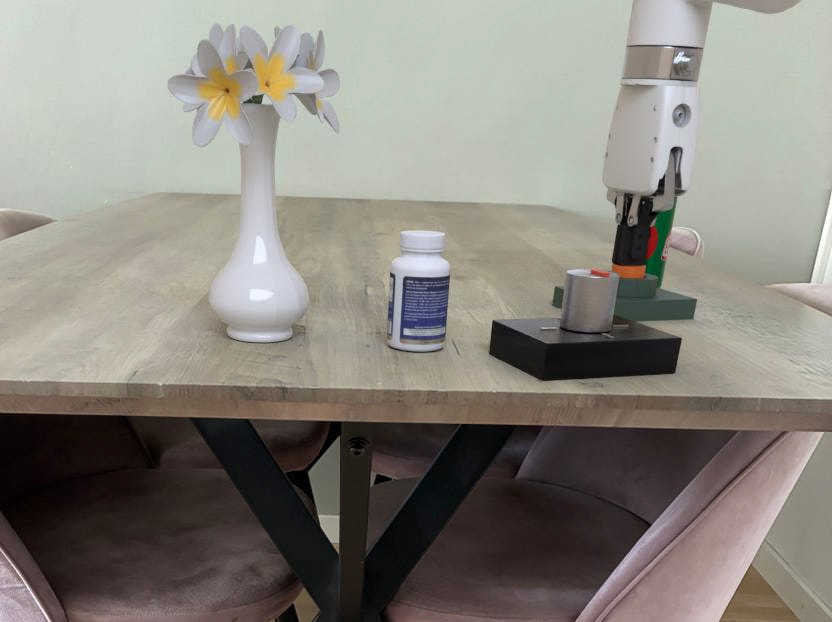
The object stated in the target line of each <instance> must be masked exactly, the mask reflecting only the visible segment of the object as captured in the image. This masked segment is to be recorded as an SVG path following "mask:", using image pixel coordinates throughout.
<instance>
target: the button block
mask: <svg viewBox="0 0 832 622" xmlns="http://www.w3.org/2000/svg"><path fill="white" fill-rule="evenodd" d="M609 271H610V272H611V270H609ZM657 283H658V277H657V276H655V275H651V274H647V273H645V275H644V278H622V277H619V282H618V288H617V295H616V301H615V307H614V313H613V316H620V317H623V318H626V319H628V320H631V321H634V322H657V321H658V322H659V321H684V320H685V321H689V320H694V317H695V313H696V308H697V303H698V298H695V297H692V296H688V295H684V294H681V293H677V292H674V291H670V290H667V289H663V288H661V287H660V288H657ZM564 288H565V285H555V286H554V289H553V291H554V292H553V297H552V303H551V305H552V307H555V308H557V309H560V310H562V303H563V296H564Z"/></svg>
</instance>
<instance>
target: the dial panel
mask: <svg viewBox="0 0 832 622" xmlns="http://www.w3.org/2000/svg"><path fill="white" fill-rule="evenodd" d="M560 318H561V316H558V317H532V318H531V317H530V318H502V319H492V321H491V330H490V340H489V349H488V354H489V355H491V356H493V357H495V358H497V359H499V360H501V361H503V362H505V363H507V364H508V365H511V366H513V367H515V368H517V369H520V370H521V371H523V372H525V373H528V374H529V375H531V376H533V377H535V378H537V379H539V380H540V381H545V382H546V381H559V380H576V379H577V380H579V379H580V380H581V379H594V378H595V379H596V378H613V377H614V376H615V377H627V376H626V375H633V376H643V375H642V374H651V375H663V374H662V373H669V374H676V372H677V365H678V361H679V356H680V351H681V345H682V341H683V337H682V336H681V337H680V336H678V335H675V334H672V333H670V332H667V331H664V330H660V329H657V328H655V327H652V326H648V325H646V324H643V323H640V322H638V321H635V322H634V321H631V320H628V319H626V318H623V317H620V316H613V319H612V326H611V330H610V331H608V332H602V333H585V332H576V331H571V330H566V329H564V328H561V327H560ZM660 373H661V374H660ZM624 375H625V376H624Z"/></svg>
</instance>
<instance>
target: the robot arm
mask: <svg viewBox="0 0 832 622" xmlns="http://www.w3.org/2000/svg"><path fill="white" fill-rule="evenodd" d="M801 2H803V0H632V6H631V12H630V18H629V25H628V32H627V39H626V44H625V52H624V57H623V63H622V64H623V65H622V71H621V77H620V82H619V83H620V84H619V86H620V88H619V92H618V95H617V99H616V102H615V106H614V110H613V114H612V118H611V122H610V126H609V132H608V137H607V141H606V147H605V153H604V160H603V165H602V166H603V169H602V183H603V185H604V187H605V188H607V191H606V201H608V202H610V203H611V204H612V205H614V208H615V218H614V221H615V224H617V226H616V231H615V232H616V233H615V237H614V244H613V251H612V256H611V263H612V264H618V265H620V266H642V265H643V264H644V263H645V258H646V252H647V247H648V241H649V236H650V230H651V227H653V226H654V225H655V222H656V219H657V216H658V214H659V213H660V212H663V211H667V210H671V209H672V208H673V206H674V196H677V197H681V196H684V195H685V194H686V193H688V191H689V188H690V186H691V181H692V176H693V169H694V166H695V165H694V164H695V159H696V151H697V143H698V135H699V127H700V126H699V125H700V113H701V111H700V110H701V87H698V84H699V83H698V82H699V78H700V72H701V67H702V61H703V55H704V49H705V45H706V40H707V34H708V30H709V29H708V28H709V25H710V19H711V14H712V9H713V3H716V4H722V5H727V6H730V7H734V8H739V9H742V10H749V11H753V12H755V13H759V14H760V13H761V14H765V15H773V14H774V15H775V14H779V13H783V12H786V11H787V10H790V9H792V8H793V7H795V6H796V5H798V4H799V3H801Z"/></svg>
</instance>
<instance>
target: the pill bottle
mask: <svg viewBox="0 0 832 622" xmlns="http://www.w3.org/2000/svg"><path fill="white" fill-rule="evenodd" d="M445 247H446V233H445V232H443V231H435V230H421V229H420V230H418V229H417V230H416V229H415V230H412V229H411V230H402V231H400V233H399V248H398V249H399V250H401V254H400V256H398V257H395V258H394V259H393V260H392V262H391V263H390V269H389V281H388V282H389V285H388V301H387V302H388V306H387V307H388V308H387V326H386V343H387V345H388V346H389V347H390V348H393V349H396V350H400V351H405V352H413V353H414V352H415V353H428V352H434V351H439V350H441V349H443V348H444V347H445V344H446V336H447V323H448V322H447V321H448V310H449V309H448V308H449V295H450V285H451V284H450V283H451V265H450V263H449V261H448V260H446V259H445V258H443V257H442V253H443V252H444V251H445Z"/></svg>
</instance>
